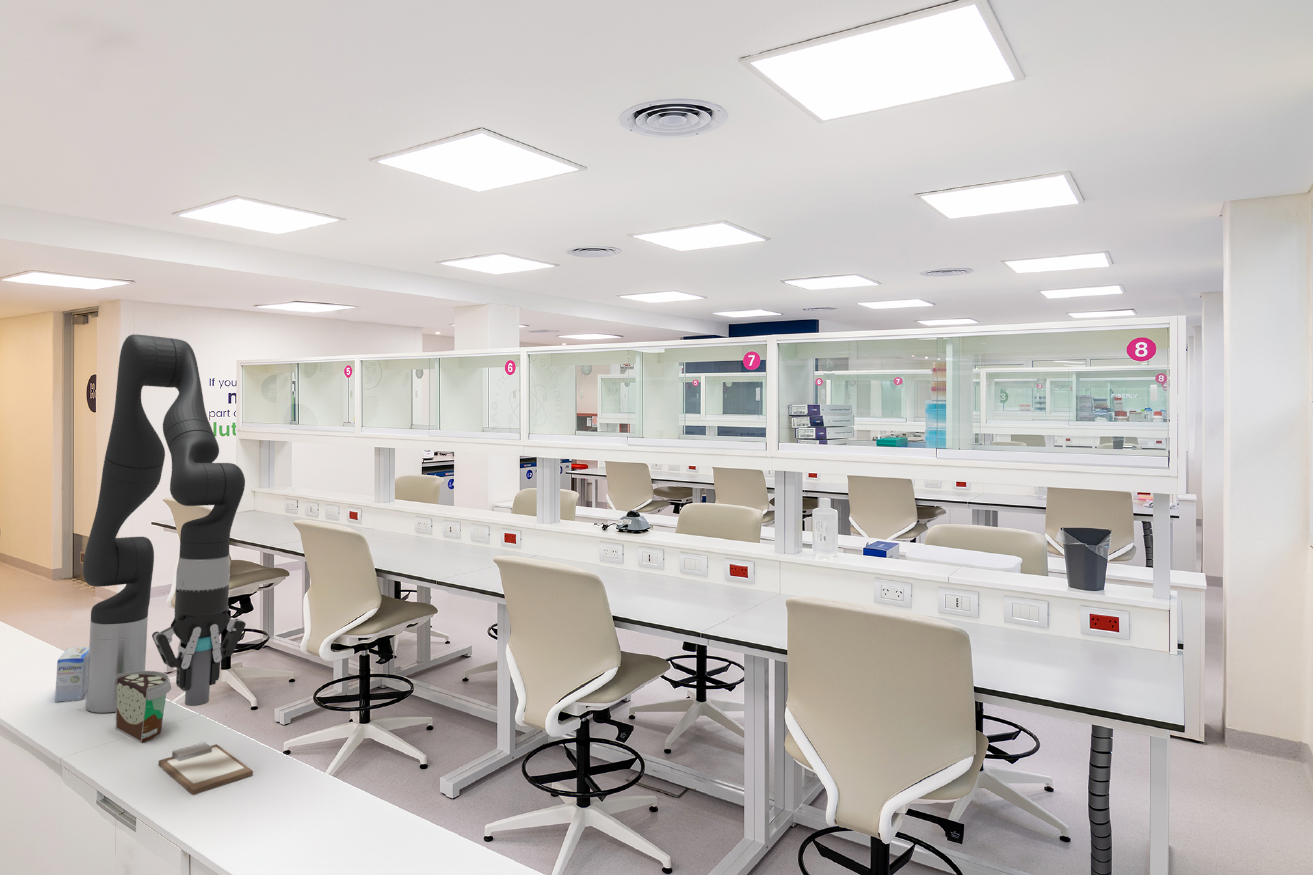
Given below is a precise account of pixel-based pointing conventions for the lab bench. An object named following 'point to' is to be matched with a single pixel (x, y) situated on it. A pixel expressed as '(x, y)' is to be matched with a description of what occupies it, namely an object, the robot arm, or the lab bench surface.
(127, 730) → the food container
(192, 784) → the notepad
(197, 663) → the marker
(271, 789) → the lab bench surface
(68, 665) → the medicine box
